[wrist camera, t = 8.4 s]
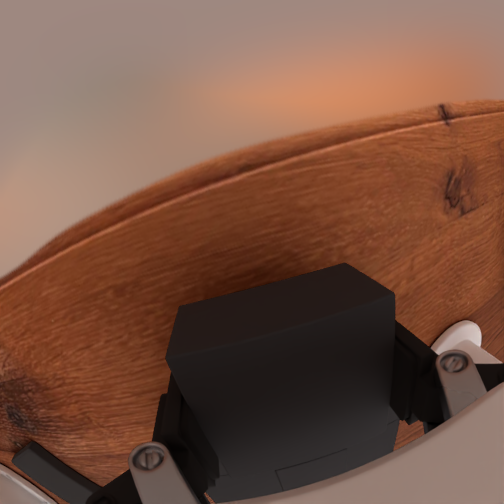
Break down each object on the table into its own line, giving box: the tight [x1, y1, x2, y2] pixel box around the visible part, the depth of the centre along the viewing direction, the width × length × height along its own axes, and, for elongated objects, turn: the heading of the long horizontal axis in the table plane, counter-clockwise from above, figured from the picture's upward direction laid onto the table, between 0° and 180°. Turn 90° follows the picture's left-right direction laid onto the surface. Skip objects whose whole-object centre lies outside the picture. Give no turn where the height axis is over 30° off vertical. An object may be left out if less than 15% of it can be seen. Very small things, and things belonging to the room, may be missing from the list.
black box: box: [206, 407, 400, 503], centre depth 14 cm, size 12×12×4 cm
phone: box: [12, 441, 101, 504], centre depth 15 cm, size 8×1×15 cm
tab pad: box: [165, 263, 395, 492], centre depth 10 cm, size 9×6×4 cm
